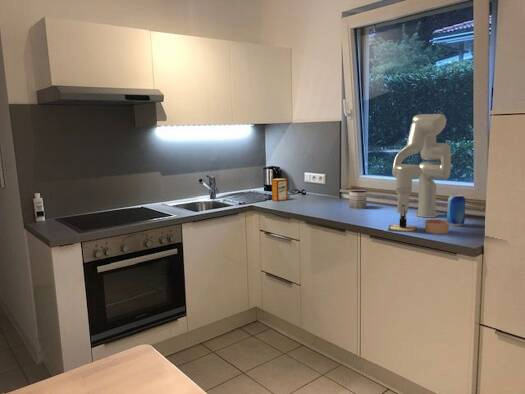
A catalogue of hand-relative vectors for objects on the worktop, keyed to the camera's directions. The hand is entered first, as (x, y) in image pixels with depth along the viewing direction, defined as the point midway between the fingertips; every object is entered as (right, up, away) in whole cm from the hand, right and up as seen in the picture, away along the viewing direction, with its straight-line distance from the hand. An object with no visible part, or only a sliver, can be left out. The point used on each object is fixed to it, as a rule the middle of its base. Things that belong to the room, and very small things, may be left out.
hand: (402, 225), depth 221 cm
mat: (0, -2, 0) cm, 2 cm away
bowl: (+15, -3, -6) cm, 16 cm away
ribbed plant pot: (-9, +7, +63) cm, 64 cm away
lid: (0, -2, 0) cm, 1 cm away
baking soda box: (-59, +12, +99) cm, 116 cm away
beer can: (+31, 0, +8) cm, 32 cm away
